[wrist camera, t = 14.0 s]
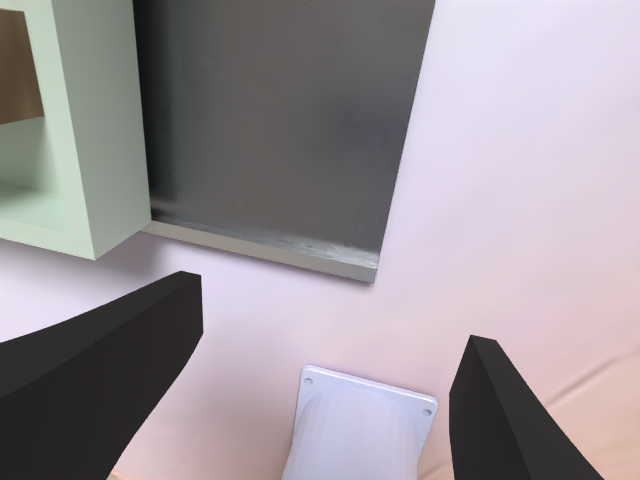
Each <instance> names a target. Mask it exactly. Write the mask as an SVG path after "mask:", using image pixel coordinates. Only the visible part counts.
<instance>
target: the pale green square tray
mask: <svg viewBox="0 0 640 480" xmlns="http://www.w3.org/2000/svg"><path fill="white" fill-rule="evenodd" d="M0 8H3V9H10V10H17V11H24V14H25V19H26V24H27V29H28V34H29V39H30V44H31V49H32V54H33V59H34V64H35V69H36V74H37V79H38V84H39V89H40V94H41V99H42V104H43V109H44V114H45V116H41V117H36V118H31V119H27V120H22V121H17V122H12V123H7V124H2V125H0V238H3V239H7V240H11V241H16V242H20V243H24V244H28V245H32V246H36V247H41V248H45V249H49V250H53V251H57V252H62V253H66V254H70V255H74V256H78V257H82V258H87V259H91V260H97V259H98V258H99V257H101V256H102V255H104V254H105V253H107V252H108V251H110V250H111V249H113V248H114V247H116V246H117V245H119V244H120V243H121V242H123V241H124V240H126V239H127V238H129V237H130V236H132V235H133V234H135V233H136V232H138V231H139V230H141V229H142V228H143V227H145V226H146V225H148V224H149V223H151V210H150V199H149V187H148V176H147V164H146V153H145V141H144V130H143V118H142V107H141V95H140V84H139V72H138V61H137V49H136V38H135V26H134V15H133V3H132V0H0Z"/></svg>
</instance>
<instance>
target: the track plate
mask: <svg viewBox="0 0 640 480" xmlns="http://www.w3.org/2000/svg"><path fill="white" fill-rule="evenodd" d="M132 3H133V15H134V26H135V38H136V49H137V61H138V72H139V84H140V95H141V107H142V118H143V130H144V141H145V153H146V164H147V176H148V187H149V199H150V210H151V223H149V224H148V225H146V226H145V227H143V228H142V229H141V230H139V231H141V232H146V233H150V234H155V235H159V236H164V237H168V238H173V239H177V240H182V241H186V242H191V243H195V244H199V245H204V246H208V247H213V248H217V249H222V250H226V251H231V252H235V253H240V254H244V255H249V256H253V257H258V258H262V259H267V260H271V261H276V262H280V263H284V264H289V265H293V266H298V267H302V268H307V269H311V270H316V271H320V272H325V273H329V274H334V275H338V276H343V277H347V278H352V279H356V280H361V281H365V282H369V283H374V279H375V275H376V270H377V265H378V260H379V255H380V251H381V246H382V242H383V237H384V232H385V228H386V223H387V219H388V214H389V210H390V205H391V201H392V196H393V191H394V187H395V182H396V178H397V173H398V169H399V164H400V159H401V155H402V150H403V146H404V141H405V137H406V132H407V127H408V123H409V118H410V114H411V109H412V105H413V100H414V95H415V91H416V86H417V82H418V77H419V73H420V68H421V63H422V59H423V54H424V50H425V45H426V41H427V36H428V32H429V27H430V22H431V18H432V13H433V9H434V4H435V0H132Z"/></svg>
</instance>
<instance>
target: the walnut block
mask: <svg viewBox="0 0 640 480" xmlns="http://www.w3.org/2000/svg"><path fill="white" fill-rule="evenodd" d="M41 116H45V114H44V109H43V104H42V99H41V94H40V89H39V84H38V79H37V74H36V69H35V64H34V59H33V54H32V49H31V44H30V39H29V34H28V29H27V24H26V19H25V14H24V11H17V10H10V9H3V8H0V125H2V124H7V123H12V122H17V121H22V120H27V119H31V118H36V117H41Z"/></svg>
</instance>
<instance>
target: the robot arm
mask: <svg viewBox="0 0 640 480" xmlns="http://www.w3.org/2000/svg"><path fill="white" fill-rule="evenodd" d="M202 335H203V312H202V287H201V275H198V274H194V273H189V272H185V271H179V272H176V273H173V274H171V275H169V276H166V277H164V278H162V279H160V280H157V281H155V282H153V283H151V284H149V285H146V286H144V287H142V288H140V289H138V290H136V291H133V292H131V293H129V294H127V295H125V296H122V297H120V298H118V299H116V300H114V301H111V302H109V303H107V304H105V305H102V306H100V307H97V308H95V309H92V310H90V311H88V312H85V313H83V314H80V315H78V316H76V317H73V318H71V319H68V320H66V321H63V322H61V323H58V324H55V325H53V326H50V327H47V328H44V329H42V330H39V331H36V332H33V333H30V334H27V335H24V336H21V337H18V338H15V339H11V340H8V341H5V342H1V343H0V480H106V479H107V478H108V476H109V474H110V473H111V471H112V469H113V468H114V466H115V464H116V463H117V461H118V459H119V458H120V456H121V454H122V453H123V451H124V450H125V448H126V447H127V445H128V444H129V442H130V441H131V439H132V438H133V436H134V435H135V434H136V432H137V431H138V430H139V428H140V427H141V425H142V424H143V423H144V421H145V420H146V419H147V417H148V416H149V415H150V413H151V412H152V411H153V409H154V408H155V407H156V405H157V404H158V403H159V401H160V400H161V398H162V397H163V396H164V394H165V393H166V392H167V390H168V389H169V388H170V386H171V385H172V384H173V382H174V381H175V379H176V378H177V377H178V375H179V374H180V373H181V371H182V370H183V368H184V367H185V365H186V364H187V362H188V360H189V359H190V357H191V355H192V353H193V352H194V350H195V348H196V346H197V344H198V342H199V340H200V339H201V337H202ZM307 378H309V379H311V380H309V379H307ZM426 410H429V411H426ZM437 410H438V401H437V399H436V398H434V397H432V396H429V395H425V394H421V393H418V392H414V391H410V390H406V389H402V388H398V387H394V386H390V385H387V384H383V383H379V382H375V381H371V380H367V379H363V378H359V377H356V376H352V375H348V374H344V373H340V372H336V371H332V370H328V369H325V368H321V367H317V366H313V365H306V366H304V367H303V369H302V372H301V379H300V386H299V394H298V401H297V409H296V416H295V424H294V431H293V438H292V446H291V450H290V454H289V457H288V460H287V463H286V466H285V469H284V473H283V476H282V479H281V480H418V460H419V457H420V455H421V452H422V449H423V447H424V444H425V441H426V439H427V436H428V433H429V431H430V428H431V426H432V423H433V420H434V418H435V415H436V412H437ZM449 435H450V444H451V453H452V462H453V470H454V478H455V480H604V479H603V478H602V477H601V476H600V475H599V473H598V472H597V471H596V470H595V469H594V468H593V467H592V465H591V464H590V463H589V462H588V461H587V460H586V459H585V457H584V456H583V455H582V454H581V453H580V452H579V450H578V449H577V448H576V447H575V445H574V444H573V443H572V442H571V441H570V439H569V438H568V437H567V436H566V435H565V433H564V432H563V431H562V430H561V429H560V427H559V426H558V425H557V423H556V422H555V421H554V420H553V418H552V417H551V416H550V415H549V413H548V412H547V411H546V409H545V408H544V407H543V405H542V404H541V403H540V401H539V400H538V399H537V397H536V396H535V395H534V393H533V392H532V390H531V389H530V388H529V386H528V385H527V384H526V382H525V381H524V379H523V378H522V376H521V375H520V374H519V372H518V371H517V369H516V368H515V367H514V365H513V364H512V362H511V361H510V359H509V358H508V356H507V355H506V354H505V352H504V351H503V349H502V348H501V346H500V345H499V344H498V342H497V341H496V340H493V339H488V338H484V337H479V336H475V335H470V337H469V340H468V343H467V345H466V348H465V351H464V354H463V357H462V359H461V362H460V365H459V368H458V371H457V373H456V376H455V379H454V382H453V385H452V387H451V390H450V393H449Z"/></svg>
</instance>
